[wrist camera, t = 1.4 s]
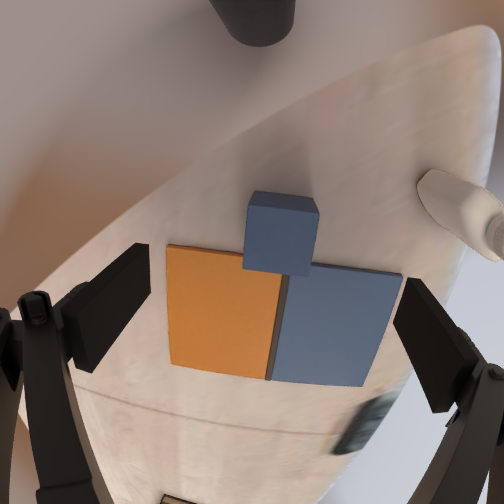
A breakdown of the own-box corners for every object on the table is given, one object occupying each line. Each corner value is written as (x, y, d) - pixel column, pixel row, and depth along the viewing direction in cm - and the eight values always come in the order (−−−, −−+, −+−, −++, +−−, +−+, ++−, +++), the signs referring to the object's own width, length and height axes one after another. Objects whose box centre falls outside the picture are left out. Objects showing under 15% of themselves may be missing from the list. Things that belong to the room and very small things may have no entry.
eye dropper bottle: (455, 160, 21) (555, 192, 10) (465, 223, 23) (552, 285, 12) (411, 173, 22) (502, 215, 11) (424, 237, 24) (501, 313, 12)
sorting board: (168, 244, 26) (165, 247, 25) (401, 273, 25) (403, 277, 24) (172, 360, 31) (170, 364, 30) (361, 383, 30) (362, 387, 29)
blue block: (254, 190, 24) (247, 203, 20) (313, 198, 23) (320, 213, 19) (248, 245, 25) (241, 269, 21) (304, 253, 25) (308, 278, 21)
